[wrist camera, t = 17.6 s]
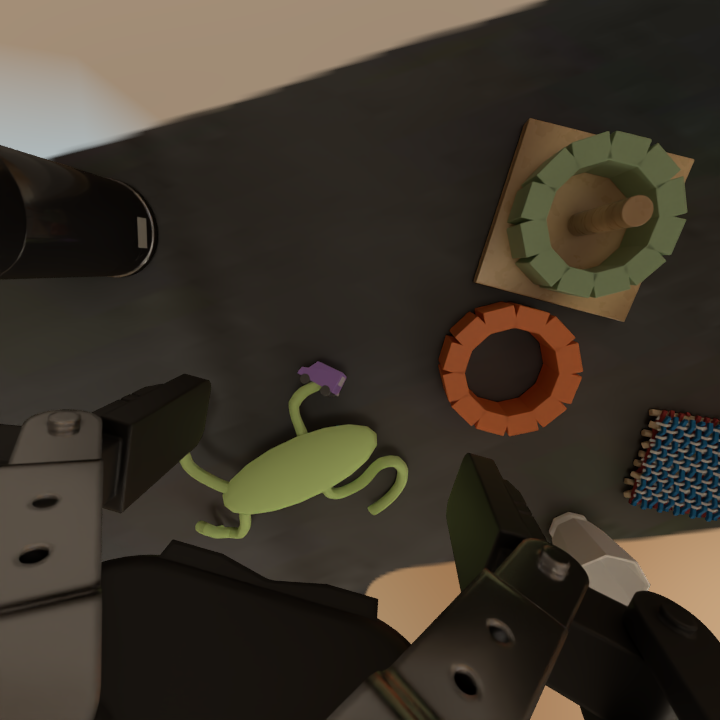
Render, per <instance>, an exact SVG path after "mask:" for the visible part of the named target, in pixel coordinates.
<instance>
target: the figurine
mask: <svg viewBox="0 0 720 720" xmlns="http://www.w3.org/2000/svg"><path fill="white" fill-rule="evenodd" d="M298 374H300V375H301V376H300V381H301V382H302V383H303V384H306V385H304V386H302V387H300V388H299V389H298V390H297V391H296V392H295V393H294V394H293V396H292V398H291V399H290V401H289V413H290V416H291V420H292V423H293V425H294V428H295V431H296V434H297V437H295V438H293V439H291V440H289V441H287V442H285V443H283V444H281V445H279V446H276V447H274V448H272V449H270V450H269V451H267V452H265V453H264V454H262V455H261V456H259V457H258V458H256V459H255V460H253V461H252V462H250V463H249V464H247V465H246V466H245V467H244V468H243V469H242V470H241V471H240V472H239V473H238V474H237V475H236V476H235V477H234V478H233V479H231V480H230V482H228V481H225V480H223V479H220V478H218V477H216V476H214V475H212V474H210V473H208V472H207V471H205V470H203V469H202V468H200V467H199V466H198V465H197V464H195V463H194V461H193V459H192V457H191V455H190V452H189V453H188V454H187V455H186V456H185V457H184V458H183V459H181V460H180V463H181V465H182V467H183V469H184V470H185V471H186V472H187V473H188V474H189V475H190V476H192V477H193V478H195V479H196V480H198V481H199V482H201V483H203V484H205V485H207V486H209V487H211V488H213V489H215V490H217V491H219V492H222V493H223V501H224V506H225V507H227V508H228V509H229V510H231V511H232V512H233V513H240V514H239V518H240V526H239V528H237V527H224V525H221V526H214V525H211V524H209V523H207V522H204V521H199V522H198V523H197V524H196V526H195V528H196V531H198V532H199V533H201V534H203V535H206V536H209V537H212V538H236V539H237V538H243V537H244V536H245V535H246V534H247V533H248V531H249V529H250V527H251V514H257V513H264V512H271V511H275V510H279V509H282V508H285V507H288V506H291V505H294V504H297V503H300V502H303V501H305V500H307V499H309V498H311V497H313V496H315V495H318V494H320V493H323V494H324V495H325V496H326V497H328V498H331V499H339V498H344V497H346V496H349V495H351V494H353V493H355V492H357V491H359V490H361V489H362V488H364V487H365V486H366V485H367V484H369V483H370V482H371V480H372V479H373V478H374V477H375V475H376V474H377V473H378V472H379V471H380V470H382V469H384V468H387V467H394V468H395V469H396V470H397V477H396V481H395V483H394V485H393V486H392V487H391V489H390V490H389V491H388V492H387V493H386V494H385V495H384V496H383V497H382V498H380V499H379V500H378V501H377V502H375V503H374V504H372V505H370V506H369V507H368V510H369V512H370V513H371V514H373V515H376V514H378V513H379V512H381V511H383V510H384V509H385V508H386V507H388V506H389V505H390V504H391V503H392V502H393V501H394V500H395V499H396V498H397V497H398V496H399V494H400V493H401V492H402V490H403V489H404V487H405V485H406V482H407V477H408V468H407V465H406V463H405V462H404V461H403V460H402V459H401V458H400V457H399V456H392V455H389V456H385V457H381V458H378V459H377V460H376V461H374V462H373V463H372V464H371V465H370V466H369V467H368V468H367V470H366V471H365V472H364V473H363V474H362V475H361V476H360V477H359V478H358V479H356V480H354V481H353V482H351V483H349V484H347V485H344V486H342V487H338V488H333V486H334V485H336V484H338V483H339V482H341V481H342V480H344V479H345V478H347V477H349V476H350V475H351V474H353V473H354V472H355V471H356V470H357V469H358V468H359V467H360V466H361V465H363V464H364V463H365V462H366V461H367V460H368V459H369V457H370V455H371V454H372V452H373V451H374V449H375V447H376V446H377V434H376V433H375V432H374V431H372V430H371V429H370V428H369V427H367V426H359V425H350V424H348V425H341V426H334V427H327V428H323V429H319V430H316V431H313V432H310V433H308V432H307V429H306V427H305V425H304V423H303V420H302V418H301V415H300V410H299V406H300V405H301V403H302V401H303V400H304V399H305V398H306V397H307V396H308V395H310V394H312V393H314V392H317V391H319V390H320V393H321V394H322V395H323V396H330V397H334V396H339V392H340V390H341V388H342V386H343V384H344V382H345V380H346V378H347V377H346V376H345V375H344V373H342V372H340V371H338V370H336V369H334V368H332V367H329V366H327V365H325V364H323V363H321V362H319V361H317V362H316V363H315V364H313V365H312V366H310V367H309V368H307V367H301V368H300V370H299V371H298Z"/></svg>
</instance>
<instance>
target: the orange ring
mask: <svg viewBox="0 0 720 720" xmlns="http://www.w3.org/2000/svg"><path fill="white" fill-rule="evenodd" d="M474 310H475V314H473V313H471V312H470V311H469V312H468V313H467V314H466V315H465V316H464V317H463V318H462V319H461V320H459V321H458V322H457V323H456V324H455V325H454V326H453V327H452V328H451V329H450V330H449V331H450V332H451V333H452V335H453V336H454V337H453V336H449V335H446V337H445V340H444V343H443V346H442V349H441V353H440V356H439V359H438V360H439V362H440V364H439V365H438V367H439V371H440V375H441V379H442V383H443V388H444V391H445V393H446V396H447V398H448V401H449V402H450V404H451V406H452V408H453V409H454V410H455V411H456V412H457V413H458V414H460V415H461V416H462V417H463V418H464V419H465V420H466V421H467V422H468V423H469V424H470V425H471V426H472V425H473V424H474V425H475V427H476V429H480V430H483V431H487V432H491V433H494V434H498V435H502V436H504V433H505V431H506V432H507V434H508V435H509V436H513V435H518V434H523V433H527V432H532V431H537V430H538V425H537V422H538V423H539V424H540V425H541V426H542V427H545V426H546V425H547V424H549V423H550V422H551V421H552V420H554V419H555V418H556V417H557V416H559V415H560V414H561V413H562V412H564V411H565V410H566V409H567V408H566V407H565V406H564V405H563V404H562V403H561V402H564V403H568V404H571V402H572V400H573V398H574V395H575V393H576V390H577V388H578V386H579V383H580V381H581V378H582V377H581V376H580V375H578V374H576V373H578V372H583V369H582V363H581V357H580V350H579V344H578V343H577V342H575V341H573V339H575V336H574V335H573V334H572V333H571V332H570V331H569V330H568V329H567V328H566V327H565V326H564V325H563V324H562V323H561V322H560V320H559V319H558V318H557V317H556V316H553V315H550V313H549V312H545V311H542V310H539V309H535V308H532V307H528V306H524V305H520V304H516V303H513V302H509V301H508V302H507V303H505V302H502V301H501V302H497V303H493V304H490V305H486V306H482V307H478V308H475V309H474ZM512 328H518V329H521V330H525V331H529V332H530V334H531V335H532V336H533V337H534V338H535V339H536V340H537V341H538V342H539V344H540V349H541V354H542V360H543V365H542V368H541V371H540V373H539V376H538V378H537V381H536V383H535V384H534V385H533V386H532V387H531V388H529V389H528V390H527V391H526V392H525V393H523V394H522V395H521V396H520V397H518V398H514V399H509V400H505V401H500V402H495V401H491V400H487V399H484V398H480V397H477V396H476V395H475V394H474V393H473V392H472V391H471V390H470V389H469V388H468V385H467V381H466V376H465V370H466V367H467V364H468V361H469V358H470V355H471V352H472V350H473V349H474V348H475V347H477V346H478V345H479V344H480V343H481V342H482V341H483V340H484V339H485V338H487V337H488V336H489V335H490V334H492V333H496V332H500V331H504V330H508V329H512Z"/></svg>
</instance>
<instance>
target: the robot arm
mask: <svg viewBox="0 0 720 720" xmlns="http://www.w3.org/2000/svg"><path fill="white" fill-rule="evenodd" d="M157 240H158V231H157V224H156V220H155V217H154V214H153V212H152V209H151V207H150V206H149V204H148V203H147V201H146V200H145V199H144V197H143V196H142V195H141V194H140V193H139V192H138V191H137V190H135V189H134V188H133V187H131V186H130V185H128V184H126V183H124V182H121V181H118V180H115V179H111V178H105V177H101V176H98V175H95V174H92V173H89V172H86V171H83V170H79V169H76V168H73V167H70V166H66V165H63V164H60V163H57V162H53V161H50V160H47V159H44V158H40V157H37V156H34V155H31V154H27V153H24V152H21V151H18V150H14V149H11V148H8V147H5V146H1V145H0V280H1V279H34V278H67V277H105V276H108V277H126V276H130V275H133V274H136V273H138V272H139V271H141V270H142V269H143V268H145V267H146V266H147V264H148V263H149V262H150V260H151V259H152V257H153V255H154V253H155V250H156V246H157ZM210 392H211V383H210V381H209V380H206V379H202V378H199V377H195V376H191V375H188V374H183V375H181V376H179V377H177V378H175V379H173V380H171V381H169V382H167V383H165V384H158V385H153V386H148V387H144V388H142V389H140V390H138V391H136V392H134V393H132V395H130V394H129V395H127V396H125V397H123V398H122V399H121V400H117V401H115V402H113V403H111V404H108V405H106V406H104V407H102V408H100V409H98V410H96V411H94V412H92V413H91V412H87V411H82V410H72V409H63V410H52V411H47V412H42V413H39V414H36V415H34V416H31V417H30V418H28V419H27V420H26V421H25V422H24V423H23V425H22V426H15V425H5V424H0V720H530V718H531V716H532V713H533V711H534V709H535V707H536V704H537V703H538V700H539V698H540V696H541V694H542V691H543V689H544V687H545V685H546V686H548V687H550V688H551V689H553V690H555V691H557V692H558V693H560V694H561V695H563V696H565V697H566V698H568V699H570V700H571V701H573V702H575V703H576V704H578V705H580V708H581V711H582V714H583V717H584V720H720V642H719V641H718V640H717V638H716V637H715V636H714V635H713V633H712V632H711V631H710V630H709V629H708V628H707V627H706V626H705V625H704V624H703V623H702V622H701V621H700V620H699V619H697V618H696V617H695V616H694V615H692V614H691V613H690V612H689V611H687V610H686V609H684V608H683V607H681V606H680V605H678V604H677V603H675V602H673V601H671V600H670V599H668V598H666V597H664V596H661V595H659V594H656V593H653V592H650V591H637V592H636V593H635V594H634V595H633V597H632V599H631V601H630V603H629V605H628V606H626V605H624V604H622V603H620V602H618V601H616V600H614V599H612V598H610V597H608V596H606V595H604V594H602V593H600V592H598V591H596V590H594V589H592V588H590V587H589V577H588V575H587V573H586V571H585V570H584V568H583V567H582V566H581V565H580V564H579V562H578V561H577V560H575V559H574V558H573V557H572V556H571V555H569V554H568V553H567V552H565V551H564V550H562V549H561V548H559V547H557V546H555V545H553V544H551V543H549V542H547V541H546V539H545V537H544V535H543V534H542V532H541V530H540V528H539V526H538V524H537V523H536V521H535V519H534V517H532V513H531V512H530V510H529V508H528V507H527V506H526V503H525V501H524V499H523V497H522V495H521V493H520V492H519V491H518V490H517V489H516V488H515V487H514V486H513V485H512V484H511V483H510V482H509V481H507V480H504V479H503V478H502V476H501V474H500V472H499V470H498V468H497V466H496V464H495V462H494V461H493V460H492V459H488V458H485V457H481V456H478V455H474V454H470V453H467V454H466V455H465V457H464V458H463V461H462V463H461V466H460V469H459V472H458V474H457V477H456V480H455V483H454V486H453V488H452V491H451V494H450V497H449V500H448V504H447V512H446V518H447V524H448V529H449V534H450V539H451V544H452V549H453V554H454V559H455V564H456V569H457V574H458V579H459V584H460V589H461V593H460V594H459V595H458V596H457V597H456V598H455V600H454V601H453V602H452V603H451V604H450V605H449V606H448V607H447V608H446V609H445V610H444V611H443V612H442V613H441V614H440V615H439V616H438V617H437V619H435V620H434V621H433V622H432V624H431V625H430V626H429V627H428V628H427V629H426V630H425V631H424V632H423V633H422V634H421V635H420V636H419V637H418V638H417V639H416V640H415V641H414V642H413V643H412V644H410V643H409V642H408V641H407V640H406V639H405V638H404V637H403V636H402V635H401V634H399V633H398V632H397V631H396V630H395V629H393V628H392V627H390V626H389V625H387V624H386V623H385V622H383V621H381V620H379V619H378V618H377V610H378V599H376V598H373V597H369V596H366V595H362V594H359V593H356V592H352V591H349V590H345V589H342V588H338V587H335V586H331V585H328V584H316V583H301V582H286V581H274V580H269V579H267V578H265V577H263V576H261V575H259V574H258V573H256V572H254V571H252V570H251V569H249V568H247V567H245V566H243V565H242V564H240V563H238V562H236V561H234V560H233V559H231V558H229V557H227V556H226V555H224V554H221V553H218V552H214V551H211V550H207V549H204V548H201V547H197V546H194V545H190V544H187V543H183V542H180V541H176V540H172V541H171V542H170V544H169V545H168V546H167V547H166V548H165V550H164V551H163V552H162V553H161V555H137V556H128V557H122V558H117V559H111V560H108V561H104V562H101V552H102V508H104V509H108V510H111V511H115V512H118V513H122V512H123V511H124V510H126V509H127V508H128V507H129V506H130V505H131V504H132V503H133V502H134V501H136V500H137V499H138V498H139V497H140V496H141V495H142V494H143V493H145V492H146V491H147V490H148V489H149V488H150V487H151V486H152V485H153V484H155V483H156V482H157V481H158V480H159V479H160V478H161V477H162V476H164V475H165V474H166V473H167V472H168V471H169V470H170V469H171V468H172V467H174V466H175V465H176V464H177V463H178V462H179V461H180V460H181V459H183V458H184V457H185V456H186V455H187V454H188V453H189V452H190V451H191V450H193V449H194V448H195V447H196V446H197V444H198V443H199V441H200V439H201V437H202V434H203V431H204V427H205V422H206V416H207V410H208V404H209V398H210Z"/></svg>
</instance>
